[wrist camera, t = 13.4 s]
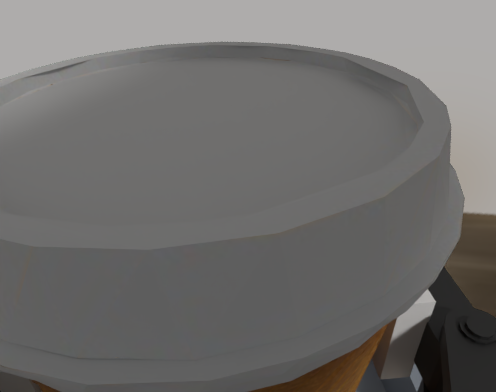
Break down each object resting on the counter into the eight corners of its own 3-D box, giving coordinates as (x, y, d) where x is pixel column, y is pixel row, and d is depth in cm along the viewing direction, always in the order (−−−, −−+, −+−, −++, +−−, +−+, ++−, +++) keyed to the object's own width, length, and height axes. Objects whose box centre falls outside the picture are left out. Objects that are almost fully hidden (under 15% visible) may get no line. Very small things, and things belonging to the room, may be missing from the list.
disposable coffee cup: (378, 686, 9) (719, 396, 2) (15, 573, 10) (-404, 222, 4) (362, 336, 16) (425, 40, 10) (155, 304, 18) (92, 35, 12)
